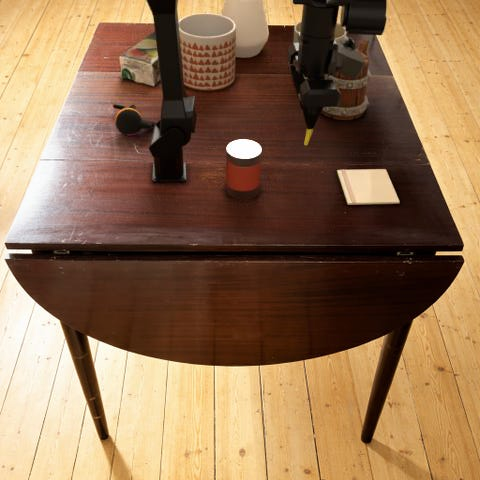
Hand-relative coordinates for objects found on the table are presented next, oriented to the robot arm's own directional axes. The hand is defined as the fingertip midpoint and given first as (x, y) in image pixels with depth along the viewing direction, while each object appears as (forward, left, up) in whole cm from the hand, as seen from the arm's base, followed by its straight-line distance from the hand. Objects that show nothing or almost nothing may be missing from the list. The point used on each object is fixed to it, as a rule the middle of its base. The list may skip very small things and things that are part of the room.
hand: (307, 119), depth 111 cm
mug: (+29, -14, -13) cm, 35 cm away
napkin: (-3, -13, -13) cm, 18 cm away
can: (-3, +12, -13) cm, 18 cm away
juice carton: (+49, +29, -13) cm, 58 cm away
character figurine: (+21, +34, -13) cm, 42 cm away
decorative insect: (+1, 0, -3) cm, 4 cm away
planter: (+45, -10, -13) cm, 48 cm away
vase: (+43, +17, -13) cm, 48 cm away
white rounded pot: (+59, +7, -13) cm, 61 cm away
